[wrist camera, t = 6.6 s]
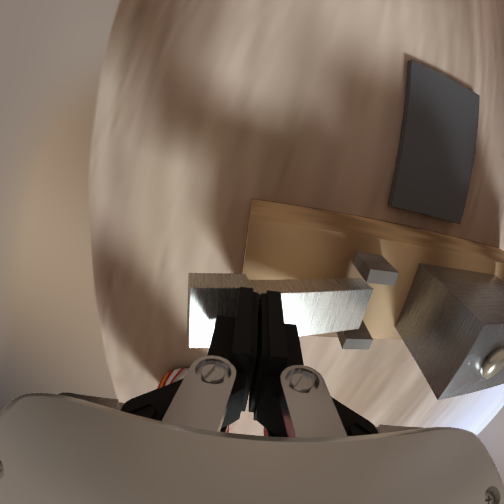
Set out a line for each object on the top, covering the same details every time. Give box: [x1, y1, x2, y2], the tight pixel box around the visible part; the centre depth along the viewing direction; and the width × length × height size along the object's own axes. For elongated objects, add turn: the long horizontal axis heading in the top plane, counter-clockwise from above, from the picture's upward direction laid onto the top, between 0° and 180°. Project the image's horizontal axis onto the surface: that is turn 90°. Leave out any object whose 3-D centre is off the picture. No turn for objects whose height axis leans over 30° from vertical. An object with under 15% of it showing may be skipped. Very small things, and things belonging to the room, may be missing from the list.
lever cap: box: [395, 263, 504, 400], centre depth 12 cm, size 8×4×7 cm, turn 83°
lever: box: [187, 273, 373, 348], centre depth 13 cm, size 1×3×9 cm
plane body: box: [242, 199, 504, 349], centre depth 15 cm, size 24×6×11 cm, turn 82°
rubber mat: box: [388, 60, 479, 224], centre depth 16 cm, size 7×11×1 cm, turn 172°
